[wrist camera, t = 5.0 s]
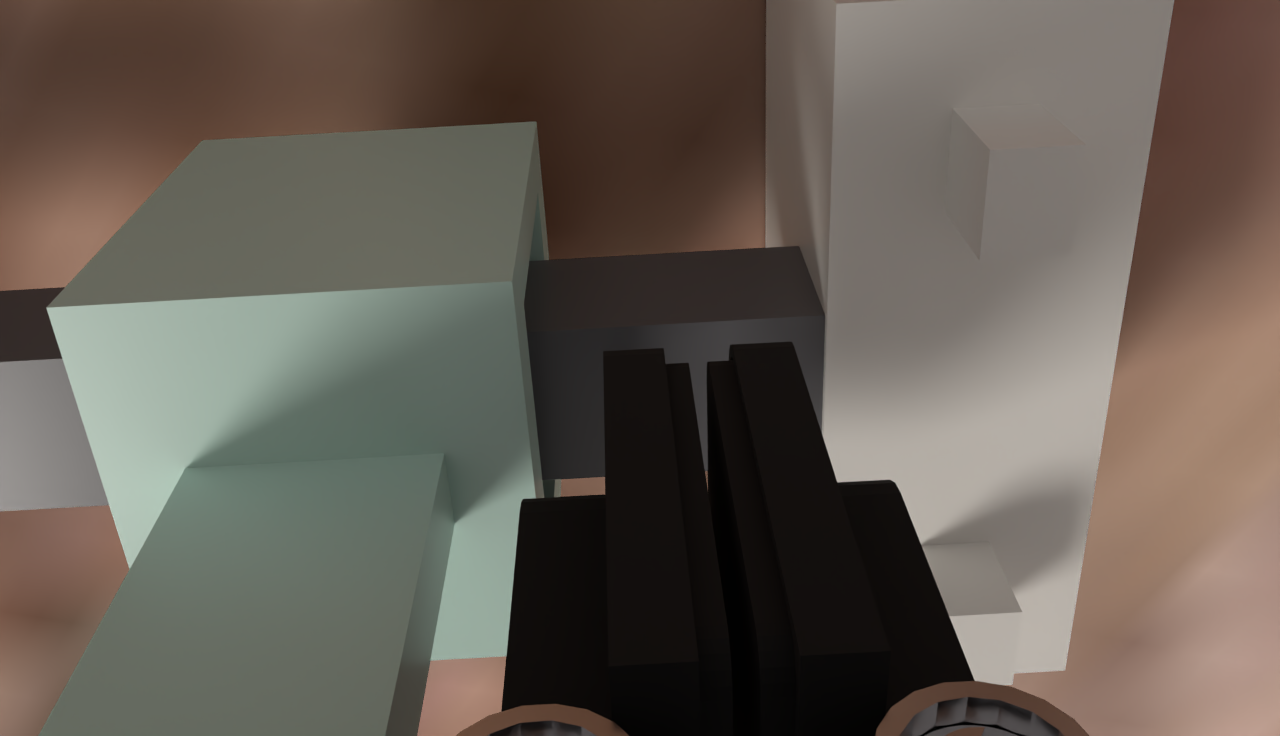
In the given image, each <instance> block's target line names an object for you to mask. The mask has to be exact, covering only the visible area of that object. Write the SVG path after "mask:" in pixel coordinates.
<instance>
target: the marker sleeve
mask: <svg viewBox="0 0 1280 736" xmlns="http://www.w3.org/2000/svg"><path fill="white" fill-rule="evenodd" d="M540 260H549V252H548V241H547V230H546V219H545V209H544V198H543V187H542V176H541V165H540V154H539V143H538V133H537V122H518V123H500V124H483V125H465V126H447V127H429V128H411V129H394V130H376V131H358V132H340V133H322V134H305V135H287V136H269V137H251V138H233V139H216V140H202V141H201V142H200V143H199V144H198V145H197V146H196V148H195V149H194V150H193V151H192V152H191V153H190V154H189V155H188V156H187V157H186V158H185V159H184V160H183V162H182V163H181V164H180V165H179V166H178V167H177V168H176V169H175V170H174V171H173V172H172V173H171V174H170V175H169V177H168V178H167V179H166V180H165V181H164V182H163V183H162V184H161V185H160V186H159V187H158V188H157V189H156V190H155V192H154V193H153V194H152V195H151V196H150V197H149V198H148V199H147V200H146V201H145V202H144V203H143V204H142V206H141V207H140V208H139V209H138V210H137V211H136V212H135V213H134V214H133V215H132V216H131V217H130V218H129V219H128V221H127V222H126V223H125V224H124V225H123V226H122V227H121V228H120V229H119V230H118V231H117V232H116V233H115V234H114V236H113V237H112V238H111V239H110V240H109V241H108V242H107V243H106V244H105V245H104V246H103V247H102V248H101V249H100V251H99V252H98V253H97V254H96V255H95V256H94V257H93V258H92V259H91V260H90V261H89V262H88V263H87V265H86V266H85V267H84V268H83V269H82V270H81V271H80V272H79V273H78V274H77V275H76V276H75V277H74V278H73V280H72V281H71V282H70V283H69V284H68V285H67V286H66V287H65V288H64V289H63V290H62V291H61V292H60V293H59V295H58V296H57V297H56V298H55V299H54V300H53V301H52V302H51V303H50V304H49V305H48V306H47V307H46V309H47V312H48V315H49V318H50V321H51V324H52V327H53V331H54V334H55V337H56V340H57V343H58V346H59V349H60V353H61V356H62V359H63V362H64V365H65V368H66V371H67V374H68V378H69V381H70V384H71V387H72V390H73V393H74V396H75V400H76V403H77V406H78V409H79V412H80V415H81V418H82V421H83V425H84V428H85V431H86V434H87V437H88V440H89V443H90V447H91V450H92V453H93V456H94V459H95V462H96V465H97V468H98V472H99V475H100V478H101V481H102V484H103V487H104V490H105V494H106V497H107V500H108V503H109V506H110V509H111V512H112V515H113V519H114V522H115V525H116V528H117V531H118V534H119V537H120V541H121V544H122V547H123V550H124V553H125V556H126V559H127V562H128V566H129V569H130V570H129V572H128V573H127V575H126V577H125V579H124V581H123V582H122V584H121V586H120V588H119V590H118V592H117V593H116V595H115V597H114V599H113V601H112V602H111V604H110V606H109V608H108V610H107V612H106V613H105V615H104V617H103V619H102V621H101V623H100V624H99V626H98V628H97V630H96V632H95V633H94V635H93V637H92V639H91V641H90V643H89V644H88V646H87V648H86V650H85V652H84V654H83V655H82V657H81V659H80V661H79V663H78V664H77V666H76V668H75V670H74V672H73V674H72V675H71V677H70V679H69V681H68V683H67V684H66V686H65V688H64V690H63V692H62V694H61V695H60V697H59V699H58V701H57V703H56V705H55V706H54V708H53V710H52V712H51V714H50V715H49V717H48V719H47V721H46V723H45V725H44V726H43V728H42V730H41V732H40V734H39V735H38V736H417V733H418V727H419V722H420V716H421V710H422V705H423V699H424V693H425V688H426V682H427V677H428V671H429V665H430V660H447V659H465V658H482V657H499V656H507V645H508V634H509V623H510V612H511V601H512V590H513V579H514V568H515V557H516V546H517V535H518V524H519V513H520V506H521V502H522V500H523V499H531V498H550V497H560V495H561V479H555V480H542V472H541V462H540V453H539V443H538V434H537V424H536V415H535V405H534V396H533V386H532V377H531V367H530V358H529V348H528V339H527V329H526V320H525V310H524V299H525V291H526V283H527V275H528V267H529V261H540Z"/></svg>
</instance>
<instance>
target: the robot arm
mask: <svg viewBox="0 0 1280 736" xmlns="http://www.w3.org/2000/svg"><path fill="white" fill-rule="evenodd" d="M603 376H604V435H605V494H606V495H588V496H569V497H550V498H531V499H523V500H522V502H521V506H520V513H519V524H518V535H517V546H516V557H515V568H514V579H513V590H512V601H511V612H510V623H509V634H508V645H507V656H506V667H505V678H504V689H503V701H502V712H499V713H495V714H492V715H489V716H487V717H485V718H484V719H482V720H480V721H478V722H477V723H475V724H473V725H471V726H470V727H468V728H466V729H464V730H463V731H461V732H459V733H458V734H457V735H456V736H1089V735H1088V734H1087V733H1086V731H1085V730H1084V729H1083V728H1082V727H1081V726H1080V725H1079V724H1078V723H1077V722H1076V721H1075V720H1074V719H1073V718H1072V717H1070V716H1069V715H1067V714H1066V713H1064V712H1062V711H1061V710H1059V709H1058V708H1056V707H1055V706H1053V705H1052V704H1050V703H1049V702H1047V701H1046V700H1044V699H1041V698H1039V697H1036V696H1034V695H1031V694H1029V693H1026V692H1023V691H1021V690H1018V689H1016V688H1013V687H1010V686H1004V685H998V684H992V683H986V682H980V681H975V680H974V678H973V675H972V673H971V670H970V668H969V665H968V663H967V660H966V657H965V655H964V652H963V650H962V647H961V645H960V642H959V640H958V637H957V635H956V632H955V630H954V627H953V624H952V622H951V619H950V617H949V614H948V612H947V609H946V607H945V604H944V602H943V599H942V596H941V594H940V591H939V589H938V586H937V584H936V581H935V579H934V576H933V574H932V571H931V569H930V566H929V563H928V561H927V558H926V556H925V553H924V551H923V548H922V546H921V543H920V541H919V538H918V535H917V533H916V530H915V528H914V525H913V523H912V520H911V518H910V515H909V513H908V510H907V508H906V505H905V502H904V500H903V497H902V495H901V492H900V491H899V489H898V487H897V485H896V483H895V482H893V481H892V480H873V481H854V482H837V480H836V477H835V473H834V470H833V467H832V464H831V461H830V458H829V455H828V451H827V448H826V445H825V442H824V439H823V436H822V432H821V429H820V426H819V423H818V420H817V417H816V413H815V410H814V407H813V404H812V401H811V398H810V395H809V391H808V388H807V385H806V382H805V379H804V376H803V372H802V369H801V366H800V363H799V360H798V357H797V354H796V350H795V347H794V345H793V343H792V342H790V341H789V342H770V343H750V344H731V345H730V348H729V361H710V362H707V445H708V490H707V483H706V476H705V469H704V463H703V456H702V449H701V442H700V435H699V429H698V422H697V415H696V408H695V402H694V395H693V388H692V381H691V374H690V368H689V363H671V364H666V363H665V354H664V348H653V349H633V350H614V351H603Z"/></svg>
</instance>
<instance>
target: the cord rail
mask: <svg viewBox="0 0 1280 736" xmlns="http://www.w3.org/2000/svg"><path fill="white" fill-rule="evenodd" d="M1173 5H1174V0H766V236H765V248H752V249H734V250H717V251H699V252H681V253H664V254H646V255H628V256H611V257H593V258H575V259H558V260H540V261H529V267H528V275H527V283H526V291H525V299H524V310H525V320H526V329H527V339H528V348H529V358H530V367H531V377H532V386H533V396H534V405H535V415H536V424H537V434H538V443H539V453H540V462H541V472H542V480H555V479H573V478H590V477H605V435H604V376H603V351H614V350H633V349H653V348H664V354H665V363H666V364H671V363H689V368H690V374H691V381H692V388H693V395H694V402H695V408H696V415H697V422H698V429H699V435H700V442H701V449H702V456H703V463H704V469H705V471H708V445H707V362H710V361H729V348H730V345H731V344H750V343H770V342H789V341H790V342H792V343H793V345H794V347H795V350H796V354H797V357H798V360H799V363H800V366H801V369H802V372H803V376H804V379H805V382H806V385H807V388H808V391H809V395H810V398H811V401H812V404H813V407H814V410H815V413H816V417H817V420H818V423H819V426H820V429H821V432H822V436H823V439H824V442H825V445H826V448H827V451H828V455H829V458H830V461H831V464H832V467H833V470H834V473H835V477H836V480H837V482H854V481H873V480H892V481H893V482H895V483H896V485H897V487H898V489H899V491H900V492H901V495H902V497H903V500H904V502H905V505H906V508H907V510H908V513H909V515H910V518H911V520H912V523H913V525H914V528H915V530H916V533H917V535H918V538H919V541H920V543H921V546H922V548H923V551H924V553H925V556H926V558H927V561H928V563H929V566H930V569H931V571H932V574H933V576H934V579H935V581H936V584H937V586H938V589H939V591H940V594H941V596H942V599H943V602H944V604H945V607H946V609H947V612H948V614H949V617H950V619H951V622H952V624H953V627H954V630H955V632H956V635H957V637H958V640H959V642H960V645H961V647H962V650H963V652H964V655H965V657H966V660H967V663H968V665H969V668H970V670H971V673H972V675H973V678H974V680H975V681H980V682H986V683H992V684H998V685H1013V678H1014V673H1030V672H1047V671H1065V667H1066V661H1067V655H1068V649H1069V643H1070V637H1071V630H1072V624H1073V618H1074V612H1075V606H1076V600H1077V594H1078V587H1079V581H1080V575H1081V569H1082V563H1083V557H1084V551H1085V545H1086V538H1087V532H1088V526H1089V520H1090V514H1091V508H1092V502H1093V496H1094V489H1095V483H1096V477H1097V471H1098V465H1099V459H1100V453H1101V447H1102V440H1103V434H1104V428H1105V422H1106V416H1107V410H1108V404H1109V397H1110V391H1111V385H1112V379H1113V373H1114V367H1115V361H1116V355H1117V348H1118V342H1119V336H1120V330H1121V324H1122V318H1123V312H1124V306H1125V299H1126V293H1127V287H1128V281H1129V275H1130V269H1131V263H1132V257H1133V250H1134V244H1135V238H1136V232H1137V226H1138V220H1139V214H1140V207H1141V201H1142V195H1143V189H1144V183H1145V177H1146V171H1147V165H1148V158H1149V152H1150V146H1151V140H1152V134H1153V128H1154V122H1155V116H1156V109H1157V103H1158V97H1159V91H1160V85H1161V79H1162V73H1163V66H1164V60H1165V54H1166V48H1167V42H1168V36H1169V30H1170V24H1171V17H1172V11H1173ZM64 288H65V287H63V288H45V289H28V290H10V291H0V511H14V510H31V509H49V508H66V507H84V506H101V505H109V503H108V500H107V497H106V494H105V490H104V487H103V484H102V481H101V478H100V475H99V472H98V468H97V465H96V462H95V459H94V456H93V453H92V450H91V447H90V443H89V440H88V437H87V434H86V431H85V428H84V425H83V421H82V418H81V415H80V412H79V409H78V406H77V403H76V400H75V396H74V393H73V390H72V387H71V384H70V381H69V378H68V374H67V371H66V368H65V365H64V362H63V359H62V356H61V353H60V349H59V346H58V343H57V340H56V337H55V334H54V331H53V327H52V324H51V321H50V318H49V315H48V312H47V309H46V307H47V306H48V305H49V304H50V303H51V302H52V301H53V300H54V299H55V298H56V297H57V296H58V295H59V293H60V292H61V291H62V290H63V289H64Z"/></svg>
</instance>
